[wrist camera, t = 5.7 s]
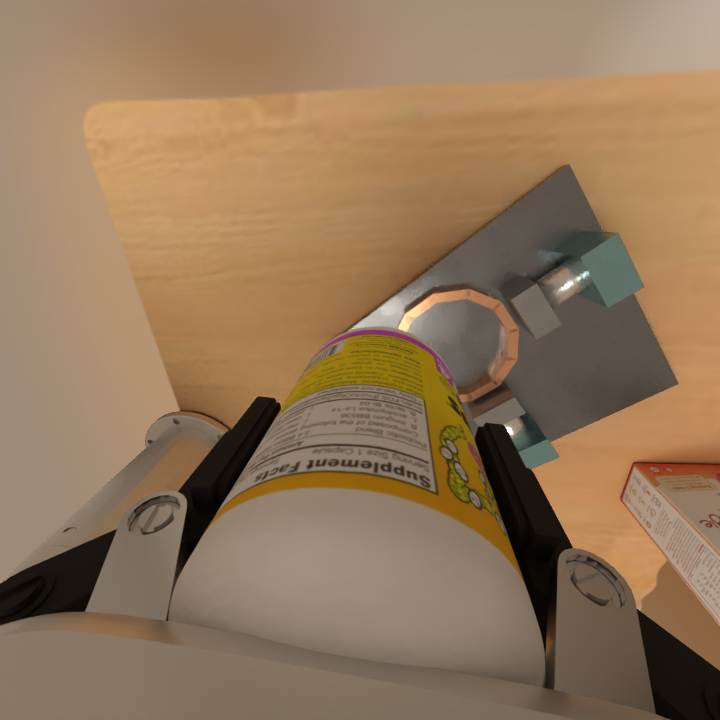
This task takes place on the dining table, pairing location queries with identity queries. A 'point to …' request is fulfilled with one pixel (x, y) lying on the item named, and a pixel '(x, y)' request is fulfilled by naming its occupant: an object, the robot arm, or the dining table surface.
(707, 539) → the cracker box
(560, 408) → the base
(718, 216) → the dining table surface
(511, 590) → the supplement bottle
